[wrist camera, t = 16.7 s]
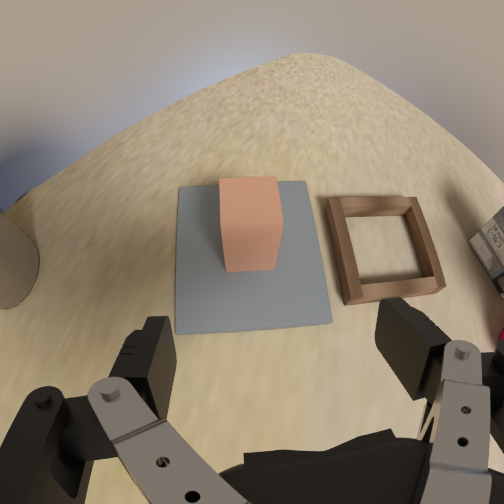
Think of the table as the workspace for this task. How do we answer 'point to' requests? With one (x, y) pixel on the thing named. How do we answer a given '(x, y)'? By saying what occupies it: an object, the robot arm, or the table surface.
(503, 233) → the label tape cartridge
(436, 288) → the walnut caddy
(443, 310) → the table surface
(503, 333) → the pepper mill
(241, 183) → the terracotta block
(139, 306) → the table surface
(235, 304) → the slate mat
